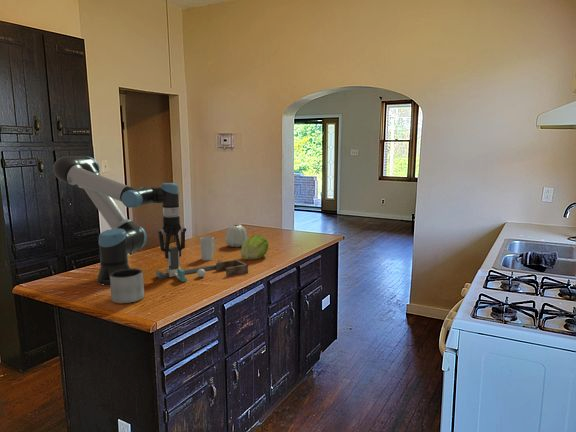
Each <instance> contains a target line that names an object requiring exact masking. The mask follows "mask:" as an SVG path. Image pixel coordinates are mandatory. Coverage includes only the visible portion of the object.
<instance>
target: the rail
mask: <svg viewBox="0 0 576 432" xmlns="http://www.w3.org/2000/svg"><path fill="white" fill-rule="evenodd" d="M218 262H223V261H222V260H217V261H216V263H218ZM199 269H204V270H205V272H206V271H207V272H208V271H212V270H216V264H212V265H211V264H210V265H206V266H199V267H195V268H194V267H193V268H187V269H183V270H184V271H185V275H188V274H194V273H197V271H198V270H199ZM155 276H156V278H157V279H158V280H163V279H165V278H166V279H167V278H170V277H169V273H166V272H165V273H163V272H162V271H161V270H160V269H159V270H155Z"/></svg>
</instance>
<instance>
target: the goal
mask: <svg viewBox="0 0 576 432" xmlns="http://www.w3.org/2000/svg"><path fill="white" fill-rule="evenodd" d="M215 265H216V269H215V270H216V272H220V271H225V277H227V278H228V277H232V276H238V275H244V274H248V273H249V264H247V263H245V262H242V261H240V260H239V259H230V260H224V261H222V262H218V263H217V262H216V263H215Z"/></svg>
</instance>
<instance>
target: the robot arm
mask: <svg viewBox="0 0 576 432" xmlns="http://www.w3.org/2000/svg"><path fill="white" fill-rule="evenodd" d="M52 167H53V168H52V170H53V174H54V176H55V177H56V178H57V179H58V180H59V181H61V182H63V183H66V184H69V185H71V186H75V185H76V186H77V187H78V188H80V189H83V190H84V191H85V192H86V194H87V196H88V197H89V198H90V201H92V203H93V205H94V206H95V207H96V209H97V211H99V213H100V214H101V216H102V217H103V219H104V220H105V221H106V223H107V224H108V226H109V228H111V229H105V230H104V231H101V232H100V233H99V235H98V241H97V242H98V249H99V262H100V264H99V265H100V268H99V270H98V275H97V277H96V278H97V281H96V282H97V284H98V283H100V284H104V285H110V274H111V273H112V272H114V271H117V270H121V269H131V267H130V265H129V258H128V255H129V254H131V253H133V252H138V250H141V249H142V248H143V247H144V246H145V245H146V243H147V238H148V236H147V231H146V230H145V228H143V226H140V225H136V223H135V222H134V221H133V219H128V218H127V216H126V215H125V213H124V212H123V210H122V209H121V208H120V206H119V205H118V203H117V202H116V201H115V200H117V201H119V202H120V203H122V204H123V205H124V206H125V207H127V208H137V207H140V206H145V205H150V204H161V205H162V215H163V218H162V224H163V227H162V229H160V230H157V231H156V232H157V234H158V238H159V246H160V248H159V249H160V251H161V252H163V253H164V258H165V259H166V262H167V265H168V267H169V266H171V259H170V252H169V247H170V243H171V238H172V236H173V237H174V241H175V245H176V246H175V247H177V248H178V264H179V265H180V258H181V257H182V250H184V249H185V248H186V232H187V228H185V227H182V226H181V221H180V219H181V217H180V216H179V215H180V199H179V198H180V197H179V194H180V192H179V186H178V184H177V183H176V182H163V183H161V186H160V187H159V186H158V187H157V186H155V187H154V186H141V187H139V188H134V187H131V186H129V185H126V184H123V183H121V182H119V181H116V180H113V179H110V178H108V177H105V176H103V175H101V174H100V171H101V170H100V169H101V167H100V165H99V163H98V161H97V160H96V159H95V158H93V157H91V156H88V155H87V156H86V155H78V156H76V155H75V156H73V155H72V156H71V155H69V156H68V155H67V156H66V155H65V156H61V157H59V158H58V159H56V161H55V162H54V164H53V166H52ZM179 232H180V237H179ZM164 233H165V239H164ZM164 240H165V241H164ZM100 284H99V285H100ZM104 285H103V286H104Z"/></svg>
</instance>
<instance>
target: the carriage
mask: <svg viewBox="0 0 576 432" xmlns="http://www.w3.org/2000/svg"><path fill="white" fill-rule="evenodd" d="M169 252H170V259H171V266H169V265H168V267H165V273H169V277H168V278H171V277H176V279H178V281H180V282H183V283H184V282H187V281H188V278H187V277H186V274H185V271H184V270H185V269H183V268H182V267H180V266H179V265H180V264H178V248H177V246H171V247H170V246H169Z"/></svg>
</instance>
